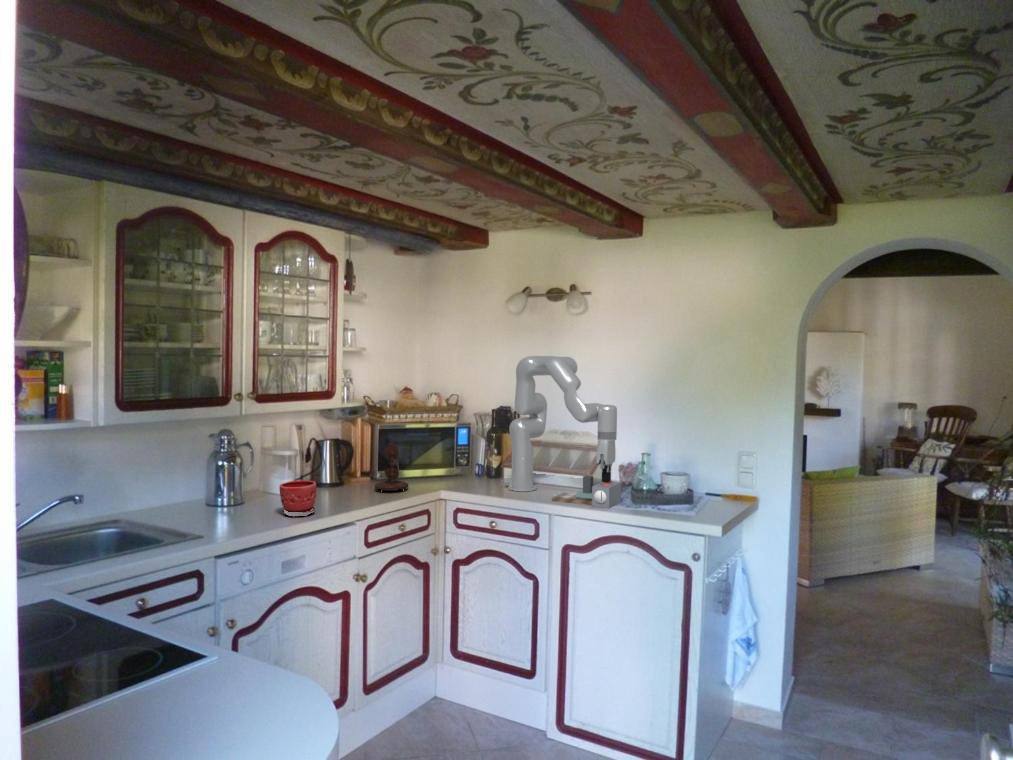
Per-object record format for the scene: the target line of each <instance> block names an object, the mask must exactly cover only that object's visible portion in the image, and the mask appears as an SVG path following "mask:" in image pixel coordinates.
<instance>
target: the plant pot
mask: <svg viewBox="0 0 1013 760" xmlns="http://www.w3.org/2000/svg"><path fill="white" fill-rule="evenodd" d="M279 495H280V502H281V505H282V506H283V508H284V509H285V510H286V511H288V512H303V513H307V511H308V512H312V511H314V510H315V511H316V508H315V507H314V505H315V503H316V499H317V482H316V481H314V480H307V479H306V480H305V479H302V480H291V481H286V482H283V483H281V484H279ZM312 508H313V510H312V511H310V510H311V509H312ZM284 509H283V510H284Z"/></svg>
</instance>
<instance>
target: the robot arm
mask: <svg viewBox="0 0 1013 760" xmlns="http://www.w3.org/2000/svg"><path fill="white" fill-rule="evenodd" d="M515 368H516V369H515V379H516V380H515V381H516V384H515V396H514V411H515V412H516V413H517V414H518V415H521V416H522V415H523V417H518V418H516V419H513V420H512V421H511V422H510V424H509V435H510V444H511V477H510V478H504V484H509V485H507V489H508V490H509V491H512V490H513V492H532V491H536V490H537V486H536V485H535V484H534V447H533V443H532V442H531V439H537V438H540V437H542V436H543V435H544V433H545V430H546V425H547V424H546V423H547V413H548V403H547V402H548V401H547V399H546V397H545V396H544V395H543V394H542V393H541V392H536V381H535V379H534V378H535V376H537V377H538V376H540V377H542V376H551V377H552V379H553V381H554V382H555V384H557V385H558V387H559V388H560V389H561V391H562V393H563V400H564V405H565V407H566V409H567V411H568V412H569V414H571V416H572V417H573V418H574V420H575V421H577V422H578V423H582V424H584V423H585V424H586V423H594V422H597V438H596V439H597V446H596V454H595V455H596V456H595V457H596V458H595V464H596V465H600V466H599V469H601V482H610V481H611V478H612V477H611V476H612V466H613V464H614V463H615V462H616V441H617V434H618V433H617V427H618V425H617V423H618V422H617V421H618V407H617V406H616V405H613V404H602V403H597V402H591V403H584V402H583V401H582V399H580V397H579V396H578V394H577V391H578V390H579V389H580V387H581V385H582V381H581V379H579V377H578V375H576V374H577V373H578V372H577V371H578V364H577V362H576V360H575V359H573V358H572V357H571V356H555V355H554V356H552V355H542V356H541V355H531V356H526V357H523V358H521V360H519V362H518V363H517V365H516V367H515ZM527 415H529V416H527ZM524 416H525V417H524ZM526 416H527V417H526Z"/></svg>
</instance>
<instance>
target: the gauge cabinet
mask: <svg viewBox="0 0 1013 760" xmlns="http://www.w3.org/2000/svg"><path fill="white" fill-rule="evenodd" d="M602 483H611V486H608V485H602ZM620 503H622V482H621V481H610V482H602V481H601V482H599V483H597V484H593V486H592V505H591V506H592V508H600V509H601V508H603V509H610V508H612V507H614V506H617V505H618V504H620Z"/></svg>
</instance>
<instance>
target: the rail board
mask: <svg viewBox="0 0 1013 760" xmlns="http://www.w3.org/2000/svg"><path fill="white" fill-rule="evenodd" d="M551 502H559V503H570V504H579V505H588V506H592V499H590V498H580V497H576V493H571V492H562V491H561V492H558V494H553V496H551Z"/></svg>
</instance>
